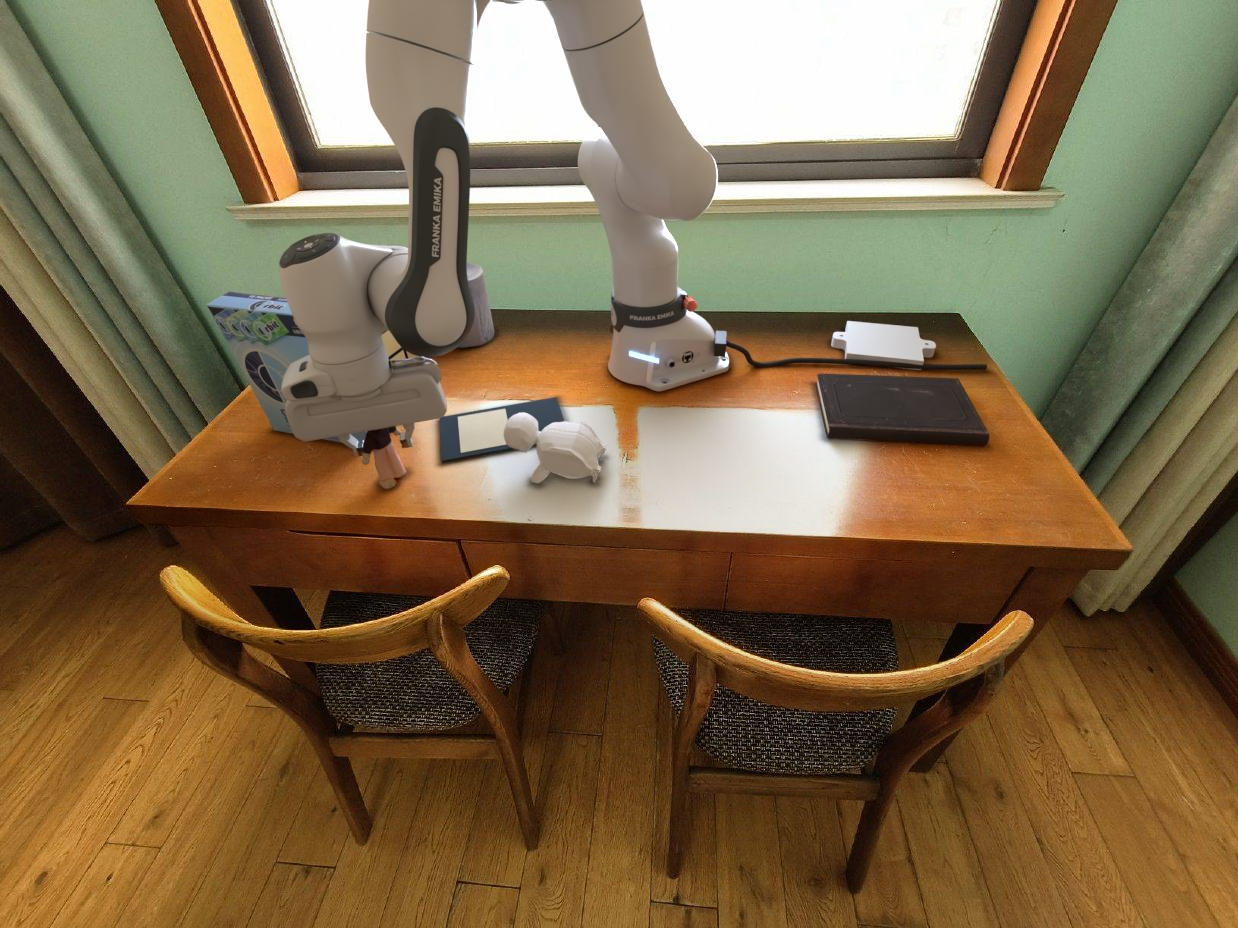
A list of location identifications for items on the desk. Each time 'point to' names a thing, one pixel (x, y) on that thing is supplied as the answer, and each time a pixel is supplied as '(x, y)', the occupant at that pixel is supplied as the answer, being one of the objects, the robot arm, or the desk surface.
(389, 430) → the grandmother figurine
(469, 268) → the pillar candle
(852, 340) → the mounting plate
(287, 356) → the gum box
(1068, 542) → the desk surface
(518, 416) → the white turtle figurine
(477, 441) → the mat
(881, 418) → the hardcover book
